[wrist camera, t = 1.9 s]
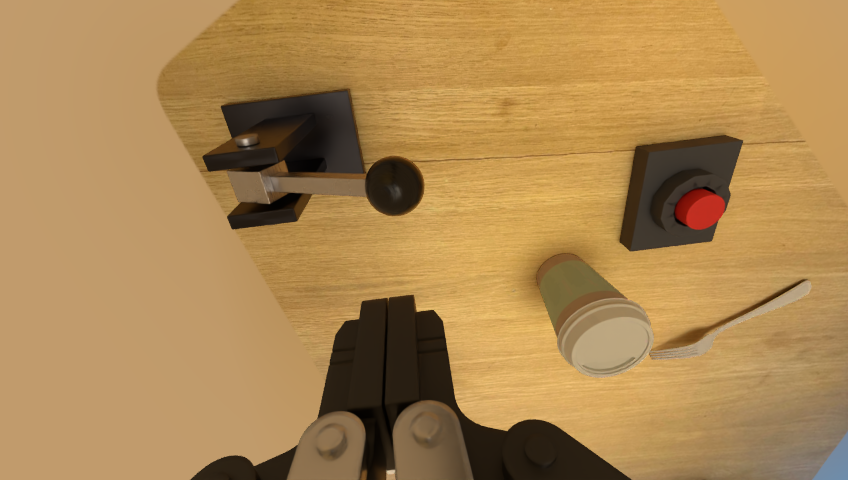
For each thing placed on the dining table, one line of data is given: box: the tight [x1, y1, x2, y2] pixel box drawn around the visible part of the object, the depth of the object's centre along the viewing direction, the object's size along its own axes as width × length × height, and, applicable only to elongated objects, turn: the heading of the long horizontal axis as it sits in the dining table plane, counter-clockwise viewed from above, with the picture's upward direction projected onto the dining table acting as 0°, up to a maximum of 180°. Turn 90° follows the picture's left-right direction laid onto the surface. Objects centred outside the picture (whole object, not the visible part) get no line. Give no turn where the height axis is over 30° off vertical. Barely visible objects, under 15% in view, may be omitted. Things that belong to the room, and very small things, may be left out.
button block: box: [620, 135, 743, 251], centre depth 37 cm, size 11×9×4 cm
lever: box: [227, 156, 424, 216], centre depth 23 cm, size 13×3×3 cm, turn 96°
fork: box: [649, 280, 811, 360], centre depth 49 cm, size 3×21×3 cm, turn 123°
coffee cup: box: [537, 254, 654, 377], centre depth 38 cm, size 8×9×12 cm
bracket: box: [203, 89, 366, 229], centre depth 29 cm, size 11×8×13 cm
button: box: [675, 189, 725, 230], centre depth 35 cm, size 4×4×2 cm
